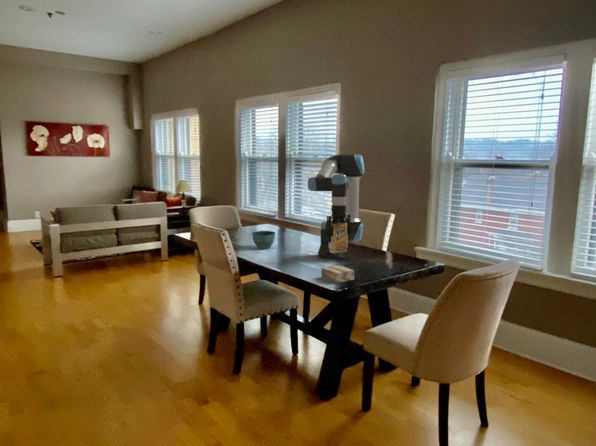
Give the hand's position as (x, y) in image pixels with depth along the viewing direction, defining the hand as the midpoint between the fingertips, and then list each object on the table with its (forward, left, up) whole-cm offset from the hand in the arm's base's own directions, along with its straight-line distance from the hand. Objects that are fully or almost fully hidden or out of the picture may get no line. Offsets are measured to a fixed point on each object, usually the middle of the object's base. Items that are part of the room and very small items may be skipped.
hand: (338, 247), depth 228 cm
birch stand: (0, 0, -17) cm, 17 cm away
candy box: (0, 0, -3) cm, 3 cm away
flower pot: (-2, -88, -17) cm, 90 cm away
